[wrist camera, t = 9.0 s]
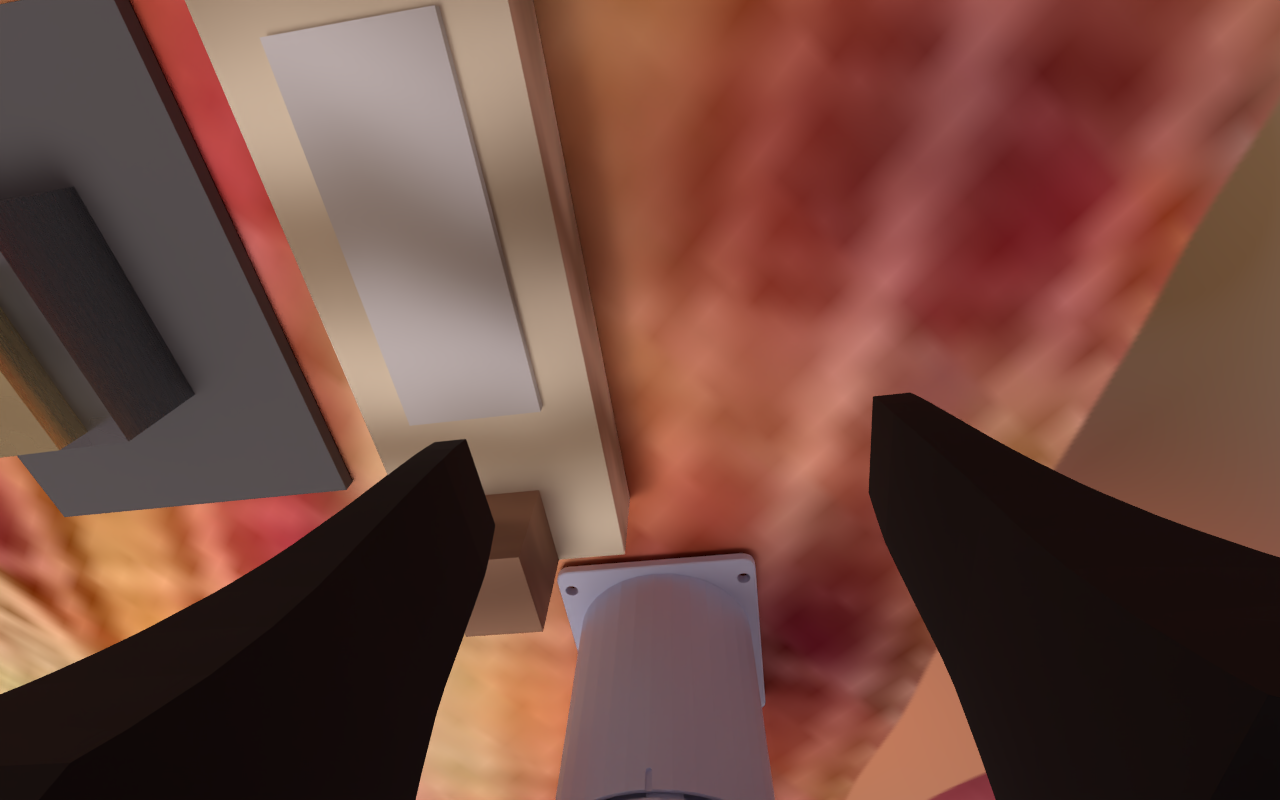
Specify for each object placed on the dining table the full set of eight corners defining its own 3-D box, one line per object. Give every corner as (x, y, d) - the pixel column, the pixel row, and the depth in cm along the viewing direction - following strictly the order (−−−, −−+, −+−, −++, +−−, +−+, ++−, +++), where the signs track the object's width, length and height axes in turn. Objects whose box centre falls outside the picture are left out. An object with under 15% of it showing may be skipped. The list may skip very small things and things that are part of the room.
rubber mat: (352, 481, 23) (346, 489, 23) (75, 508, 25) (64, 516, 24) (121, -15, 16) (106, -17, 15) (-265, 62, 17) (-289, 62, 16)
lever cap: (195, 394, 21) (101, 460, 18) (81, 408, 22) (-33, 476, 18) (74, 186, 18) (-72, 217, 14) (-58, 209, 18) (-230, 245, 15)
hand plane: (629, 498, 23) (618, 626, 18) (454, 514, 24) (394, 641, 19) (463, -357, 12) (315, -657, 7) (156, -280, 13) (-179, -501, 8)
